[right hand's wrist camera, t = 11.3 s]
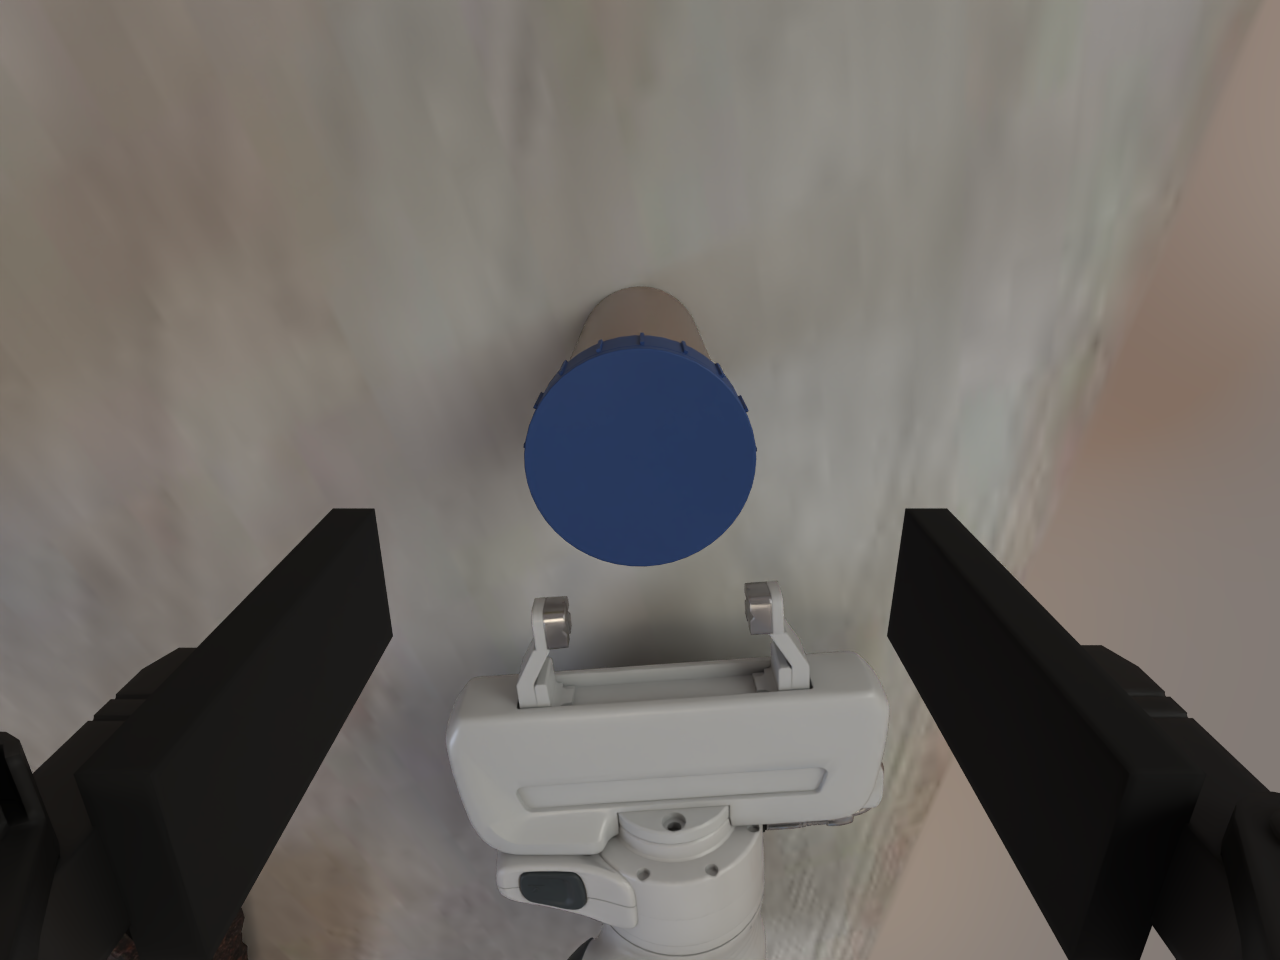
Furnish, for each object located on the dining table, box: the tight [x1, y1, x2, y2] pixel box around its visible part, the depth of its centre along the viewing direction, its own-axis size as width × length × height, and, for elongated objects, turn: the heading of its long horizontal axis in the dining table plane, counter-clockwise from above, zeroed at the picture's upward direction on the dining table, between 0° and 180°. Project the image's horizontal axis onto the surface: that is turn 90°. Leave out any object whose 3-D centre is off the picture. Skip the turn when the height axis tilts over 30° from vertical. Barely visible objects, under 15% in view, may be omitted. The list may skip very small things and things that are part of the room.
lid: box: [524, 333, 757, 566], centre depth 20 cm, size 6×6×2 cm
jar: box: [569, 287, 711, 361], centre depth 27 cm, size 6×6×15 cm
